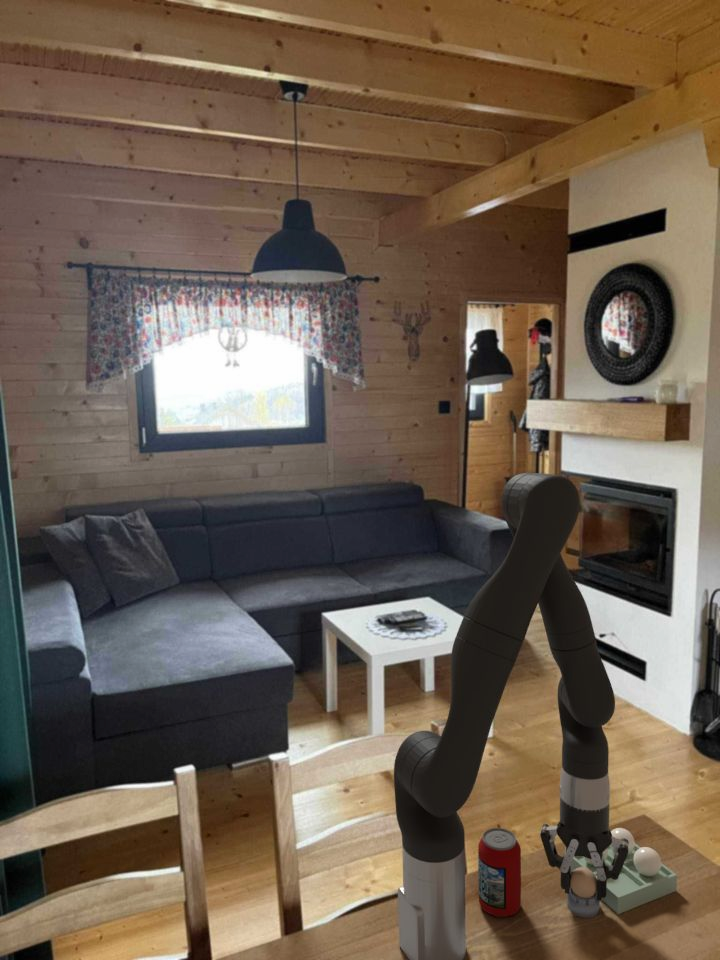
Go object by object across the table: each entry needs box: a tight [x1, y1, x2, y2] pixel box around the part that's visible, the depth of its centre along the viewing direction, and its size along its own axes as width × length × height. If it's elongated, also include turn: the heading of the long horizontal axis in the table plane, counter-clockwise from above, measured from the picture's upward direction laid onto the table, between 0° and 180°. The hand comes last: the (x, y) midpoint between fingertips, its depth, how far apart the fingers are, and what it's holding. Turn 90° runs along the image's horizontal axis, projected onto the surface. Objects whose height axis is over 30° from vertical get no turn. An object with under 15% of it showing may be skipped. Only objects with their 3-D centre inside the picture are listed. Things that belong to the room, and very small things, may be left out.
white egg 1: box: [583, 849, 608, 865], centre depth 126 cm, size 4×4×4 cm
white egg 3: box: [633, 846, 663, 877], centre depth 123 cm, size 4×4×4 cm
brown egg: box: [570, 867, 597, 898], centre depth 119 cm, size 4×4×4 cm
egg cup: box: [566, 888, 601, 919], centre depth 119 cm, size 5×5×3 cm
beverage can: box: [477, 827, 522, 918], centre depth 119 cm, size 7×7×12 cm
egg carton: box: [570, 843, 678, 915], centre depth 125 cm, size 12×12×3 cm
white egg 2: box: [610, 827, 636, 855], centre depth 129 cm, size 4×4×4 cm
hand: (583, 893), depth 119 cm, fingers closed on brown egg, 4 cm apart
